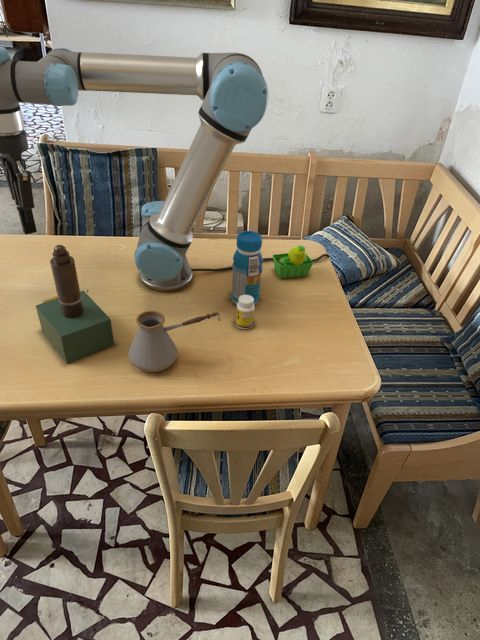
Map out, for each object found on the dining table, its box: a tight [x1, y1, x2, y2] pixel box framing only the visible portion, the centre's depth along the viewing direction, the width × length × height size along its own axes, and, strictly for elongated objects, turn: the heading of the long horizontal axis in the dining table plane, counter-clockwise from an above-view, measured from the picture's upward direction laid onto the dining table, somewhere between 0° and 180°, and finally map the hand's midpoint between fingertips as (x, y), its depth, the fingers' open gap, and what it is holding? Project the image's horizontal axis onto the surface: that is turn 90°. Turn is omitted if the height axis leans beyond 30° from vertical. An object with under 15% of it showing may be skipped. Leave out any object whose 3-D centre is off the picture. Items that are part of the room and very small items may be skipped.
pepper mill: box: [49, 244, 84, 318], centre depth 110 cm, size 5×5×18 cm
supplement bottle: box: [235, 295, 256, 330], centre depth 129 cm, size 5×5×8 cm
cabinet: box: [35, 290, 115, 364], centre depth 119 cm, size 15×12×8 cm
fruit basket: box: [272, 244, 314, 279], centre depth 150 cm, size 11×9×11 cm
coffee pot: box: [127, 310, 221, 373], centre depth 113 cm, size 21×12×15 cm, turn 95°
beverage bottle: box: [230, 230, 264, 305], centre depth 134 cm, size 8×8×20 cm
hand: (30, 232), depth 119 cm, fingers closed
